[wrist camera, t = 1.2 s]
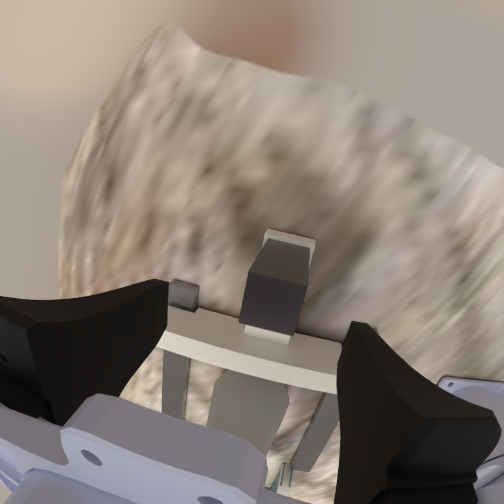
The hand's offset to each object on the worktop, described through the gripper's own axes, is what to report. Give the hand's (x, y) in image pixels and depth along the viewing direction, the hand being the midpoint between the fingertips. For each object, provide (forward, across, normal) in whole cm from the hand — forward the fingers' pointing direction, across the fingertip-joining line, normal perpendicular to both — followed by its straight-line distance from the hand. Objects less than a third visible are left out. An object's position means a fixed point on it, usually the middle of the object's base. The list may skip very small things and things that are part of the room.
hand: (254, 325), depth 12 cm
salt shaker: (+10, 0, +11) cm, 15 cm away
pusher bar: (+9, -1, +3) cm, 10 cm away
